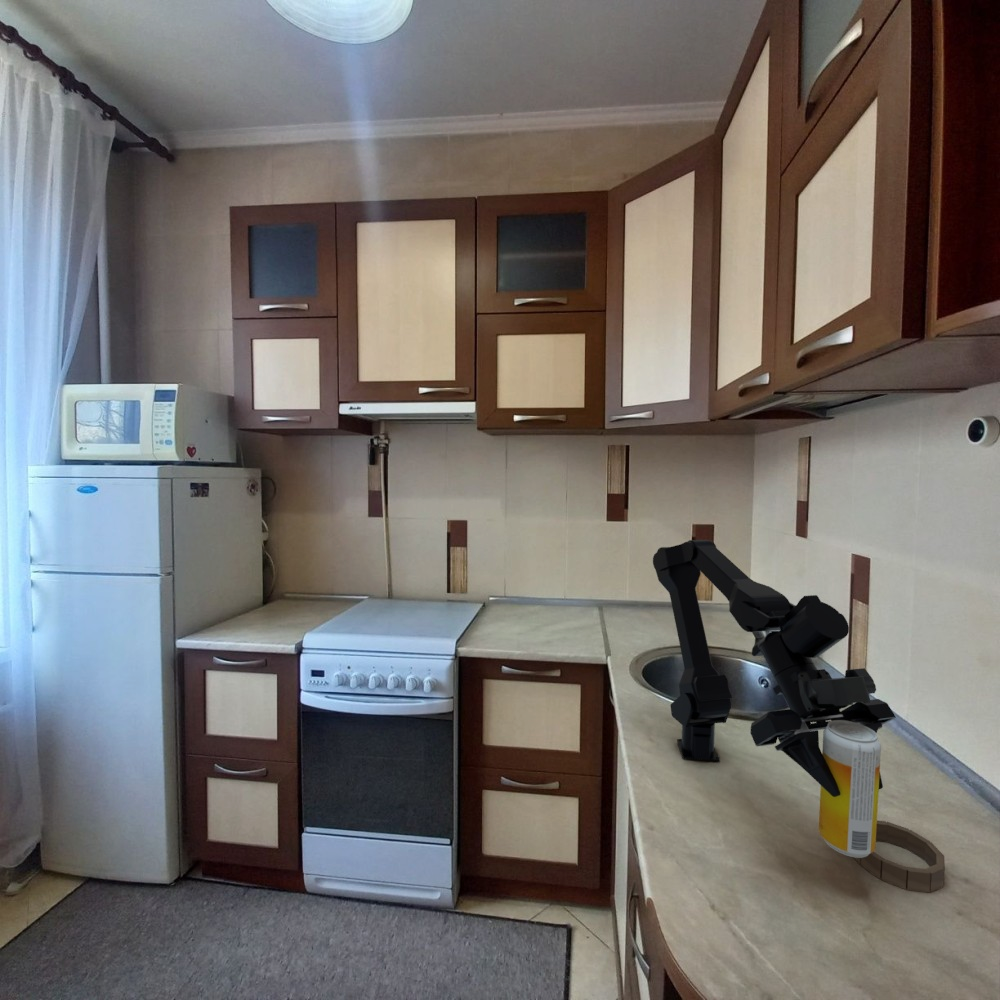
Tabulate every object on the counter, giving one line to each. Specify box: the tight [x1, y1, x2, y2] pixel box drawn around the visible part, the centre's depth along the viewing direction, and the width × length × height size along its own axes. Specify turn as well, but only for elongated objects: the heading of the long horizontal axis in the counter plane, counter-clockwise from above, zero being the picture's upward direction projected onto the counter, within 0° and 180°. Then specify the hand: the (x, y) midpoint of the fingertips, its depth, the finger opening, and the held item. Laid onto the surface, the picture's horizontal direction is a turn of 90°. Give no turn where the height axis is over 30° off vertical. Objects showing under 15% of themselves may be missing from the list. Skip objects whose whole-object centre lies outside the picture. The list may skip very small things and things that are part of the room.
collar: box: [854, 820, 946, 893], centre depth 72 cm, size 10×10×2 cm
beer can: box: [818, 720, 882, 859], centre depth 68 cm, size 6×6×15 cm
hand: (858, 792), depth 66 cm, fingers closed on beer can, 6 cm apart
